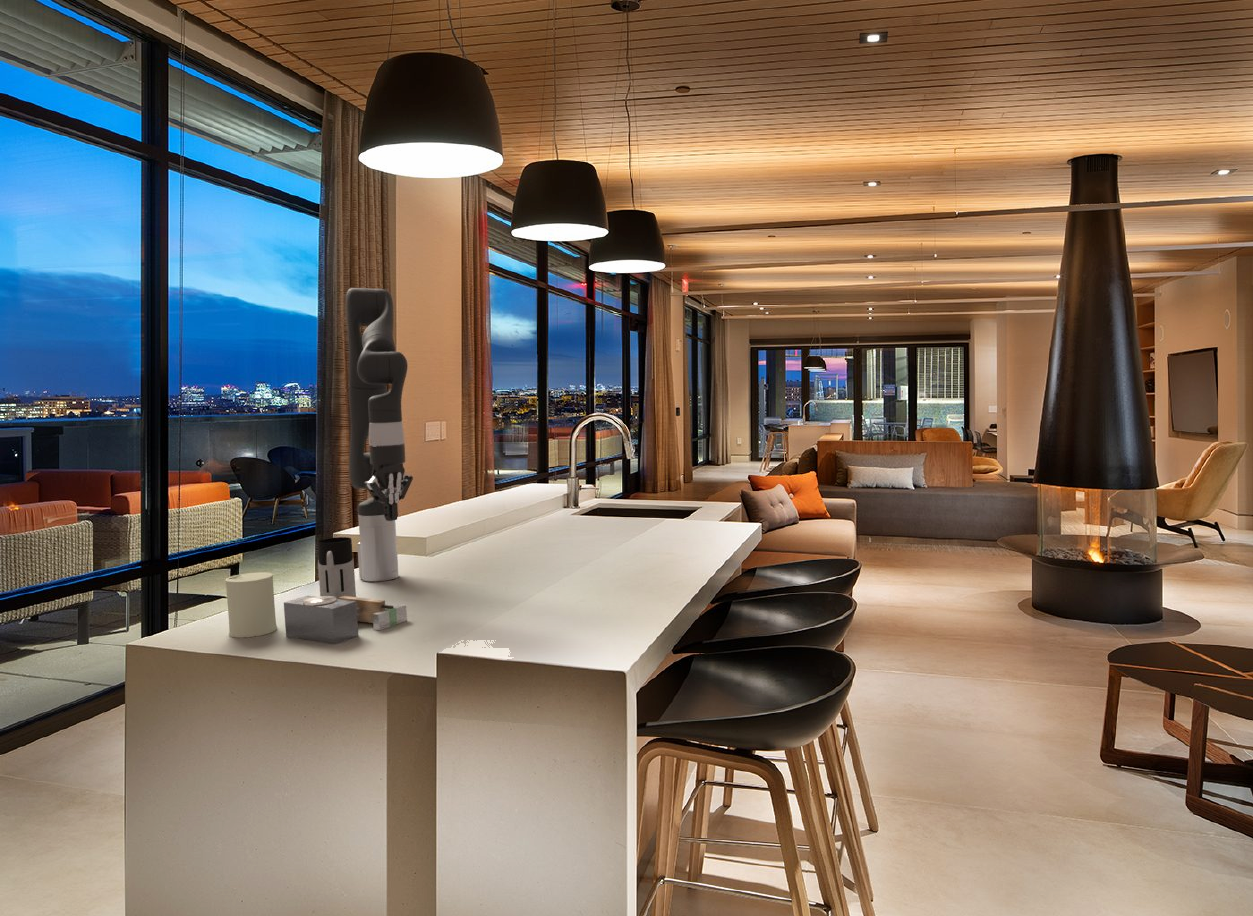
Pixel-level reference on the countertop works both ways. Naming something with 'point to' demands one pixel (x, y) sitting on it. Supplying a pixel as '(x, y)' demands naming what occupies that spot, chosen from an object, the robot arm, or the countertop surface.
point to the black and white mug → (336, 567)
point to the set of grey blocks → (332, 618)
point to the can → (251, 604)
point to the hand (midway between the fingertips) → (391, 520)
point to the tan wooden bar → (367, 607)
